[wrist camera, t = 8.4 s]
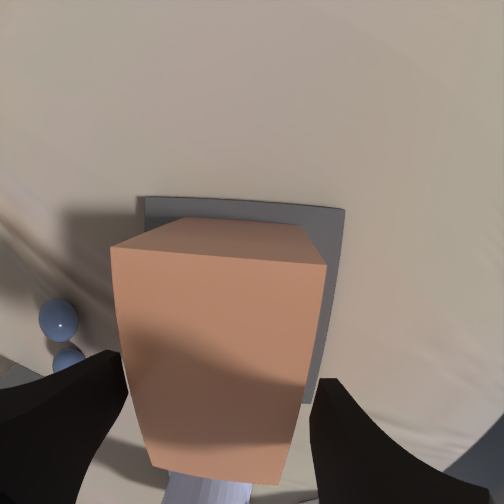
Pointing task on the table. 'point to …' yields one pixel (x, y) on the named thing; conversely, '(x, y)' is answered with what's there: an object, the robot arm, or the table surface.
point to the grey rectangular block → (17, 376)
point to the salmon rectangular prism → (218, 341)
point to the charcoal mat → (308, 217)
